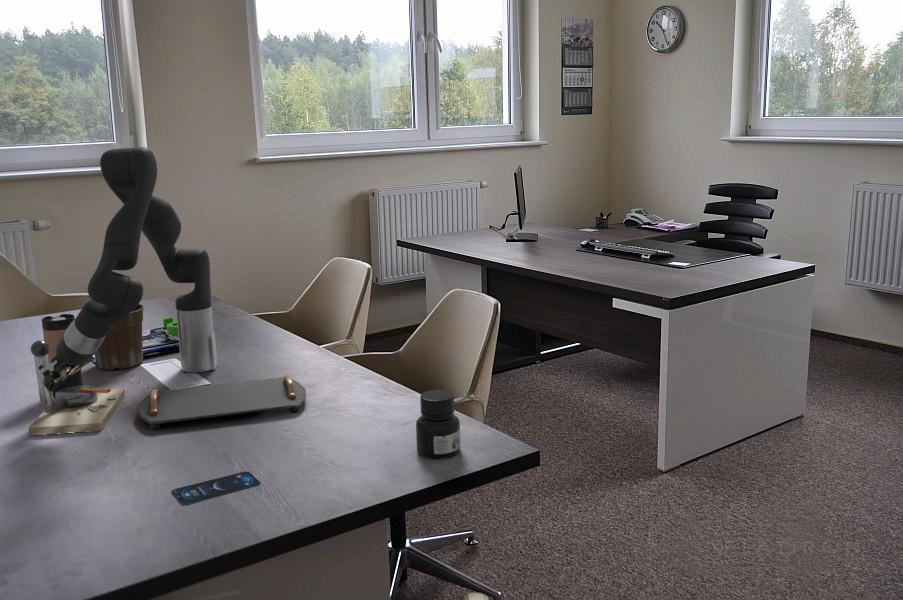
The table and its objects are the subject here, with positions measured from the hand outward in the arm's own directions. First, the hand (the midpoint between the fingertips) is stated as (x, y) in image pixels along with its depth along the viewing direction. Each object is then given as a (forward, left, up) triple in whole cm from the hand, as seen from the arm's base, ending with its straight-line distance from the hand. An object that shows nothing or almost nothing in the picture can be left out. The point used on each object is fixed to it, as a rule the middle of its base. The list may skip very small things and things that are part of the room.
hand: (49, 387), depth 189 cm
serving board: (-37, -4, -10) cm, 39 cm away
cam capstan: (-4, -6, -7) cm, 10 cm away
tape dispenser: (-15, -78, -9) cm, 80 cm away
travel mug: (+3, -22, -9) cm, 24 cm away
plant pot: (-4, -47, -9) cm, 48 cm away
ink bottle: (-84, +33, -9) cm, 90 cm away
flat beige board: (-4, -5, -9) cm, 11 cm away
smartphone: (-41, +42, -9) cm, 59 cm away
